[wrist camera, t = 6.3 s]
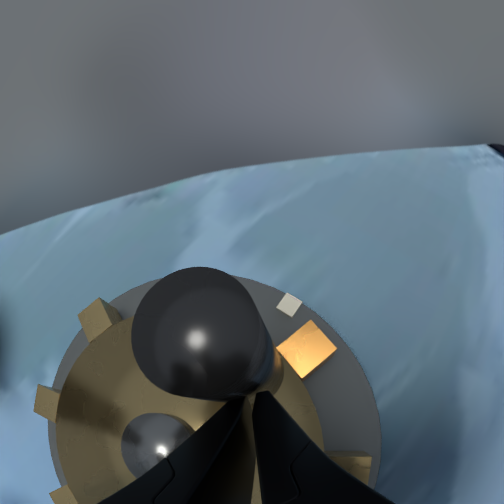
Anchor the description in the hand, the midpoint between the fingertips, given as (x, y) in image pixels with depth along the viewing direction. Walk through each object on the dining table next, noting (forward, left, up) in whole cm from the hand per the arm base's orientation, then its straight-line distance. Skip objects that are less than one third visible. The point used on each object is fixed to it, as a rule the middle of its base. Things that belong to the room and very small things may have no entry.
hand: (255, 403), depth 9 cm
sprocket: (+2, +5, -6) cm, 8 cm away
